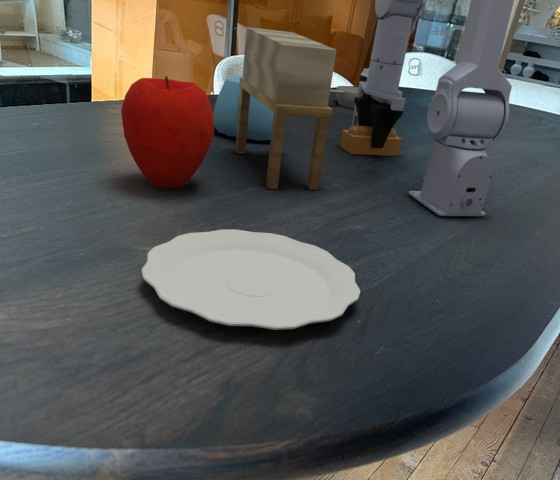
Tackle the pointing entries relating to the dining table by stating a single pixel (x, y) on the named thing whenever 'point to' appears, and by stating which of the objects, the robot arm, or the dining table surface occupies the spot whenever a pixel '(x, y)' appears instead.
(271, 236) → the plate
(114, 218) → the dining table surface
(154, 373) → the dining table surface
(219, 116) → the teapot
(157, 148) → the apple
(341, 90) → the saucepan
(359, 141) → the low wooden box
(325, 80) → the stand
